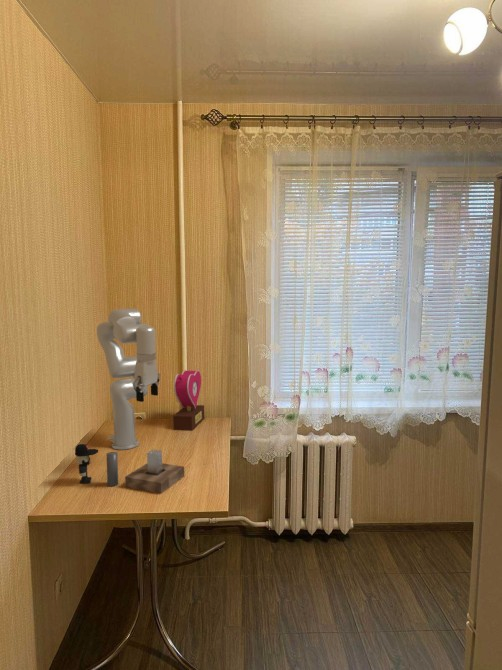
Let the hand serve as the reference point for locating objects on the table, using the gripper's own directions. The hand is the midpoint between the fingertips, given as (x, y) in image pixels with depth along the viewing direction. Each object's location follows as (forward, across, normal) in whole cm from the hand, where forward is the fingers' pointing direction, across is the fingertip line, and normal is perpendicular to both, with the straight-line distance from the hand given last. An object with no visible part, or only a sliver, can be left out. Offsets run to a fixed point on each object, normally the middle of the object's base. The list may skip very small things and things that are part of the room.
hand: (147, 398), depth 192 cm
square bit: (+28, +12, +12) cm, 33 cm away
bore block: (+28, +12, +12) cm, 33 cm away
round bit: (+29, +20, -2) cm, 35 cm away
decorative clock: (+31, -54, -14) cm, 64 cm away
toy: (+29, +22, -13) cm, 39 cm away
